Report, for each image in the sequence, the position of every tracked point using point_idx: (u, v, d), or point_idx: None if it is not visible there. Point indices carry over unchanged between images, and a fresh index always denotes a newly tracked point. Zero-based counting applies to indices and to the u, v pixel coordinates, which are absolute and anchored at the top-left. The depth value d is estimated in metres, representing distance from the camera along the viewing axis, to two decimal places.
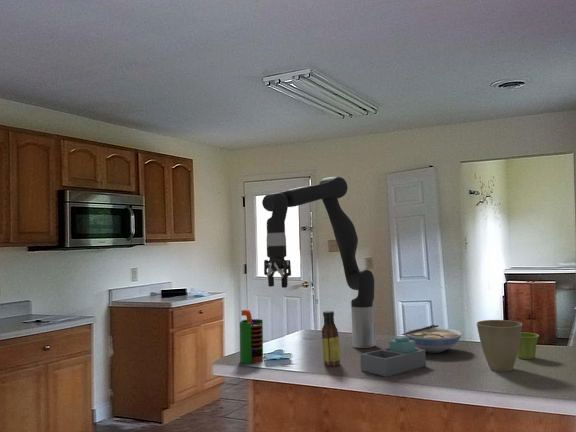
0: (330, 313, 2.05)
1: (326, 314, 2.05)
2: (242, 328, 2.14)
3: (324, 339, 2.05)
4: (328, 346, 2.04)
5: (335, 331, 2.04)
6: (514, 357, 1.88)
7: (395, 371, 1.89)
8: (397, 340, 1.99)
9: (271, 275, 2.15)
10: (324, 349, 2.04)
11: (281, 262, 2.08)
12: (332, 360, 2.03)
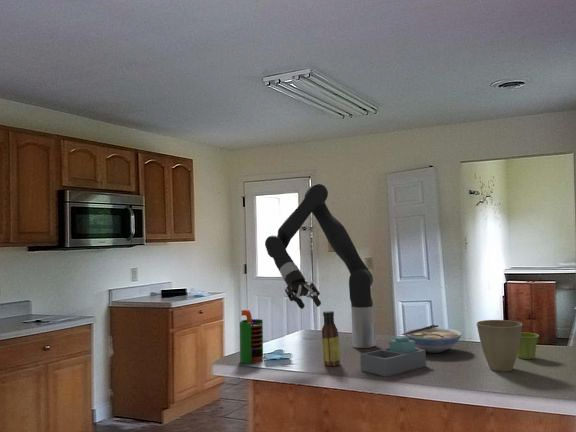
0: (330, 313, 2.05)
1: (326, 314, 2.05)
2: (242, 328, 2.14)
3: (324, 339, 2.05)
4: (328, 346, 2.04)
5: (335, 331, 2.04)
6: (514, 357, 1.88)
7: (395, 371, 1.89)
8: (397, 340, 1.99)
9: None
10: (324, 349, 2.04)
11: (308, 285, 2.23)
12: (332, 360, 2.03)
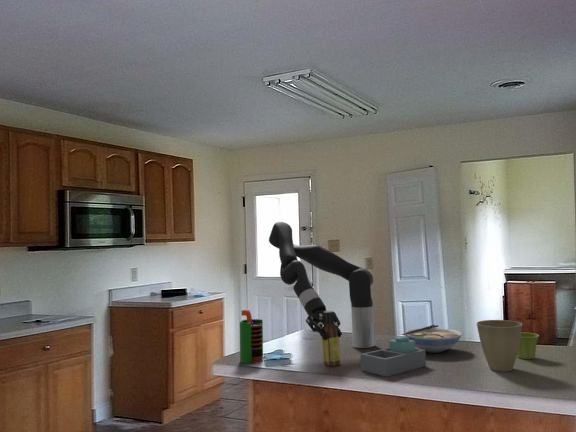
0: (330, 313, 2.05)
1: (326, 314, 2.05)
2: (242, 328, 2.14)
3: None
4: (328, 346, 2.04)
5: (335, 331, 2.04)
6: (514, 357, 1.88)
7: (395, 371, 1.89)
8: (397, 340, 1.99)
9: None
10: (324, 349, 2.04)
11: None
12: (332, 360, 2.03)
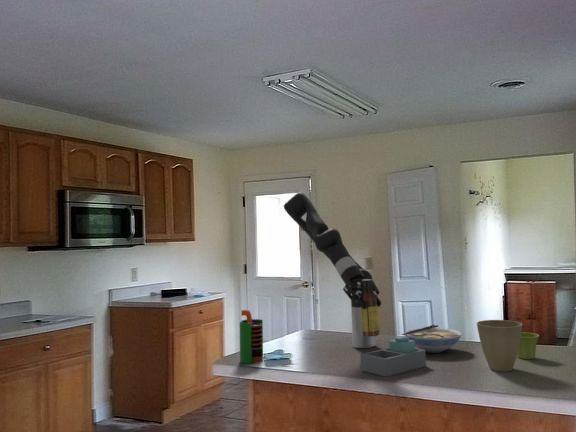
0: (369, 281, 1.95)
1: (365, 282, 1.95)
2: (242, 328, 2.14)
3: None
4: (367, 316, 1.94)
5: (374, 299, 1.95)
6: (514, 357, 1.88)
7: (395, 371, 1.89)
8: (397, 340, 1.99)
9: None
10: (363, 319, 1.95)
11: None
12: (371, 330, 1.94)
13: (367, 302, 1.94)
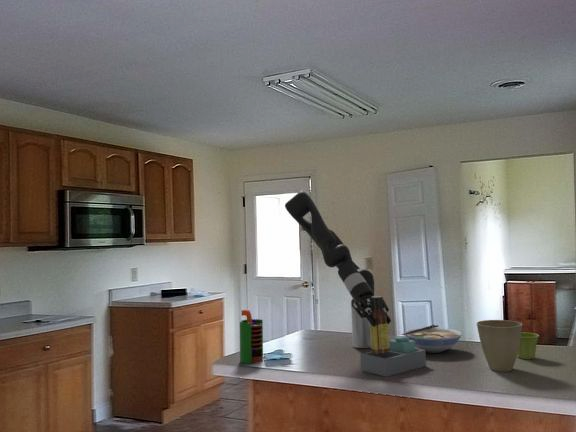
0: (379, 298, 1.93)
1: (375, 299, 1.93)
2: (242, 328, 2.14)
3: None
4: (377, 333, 1.92)
5: (384, 317, 1.93)
6: (514, 357, 1.88)
7: (395, 371, 1.89)
8: (397, 340, 1.99)
9: None
10: (373, 336, 1.93)
11: None
12: (381, 348, 1.91)
13: (377, 319, 1.92)
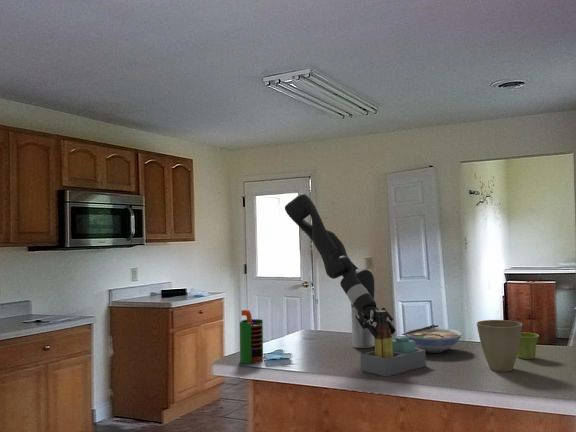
0: (383, 312, 1.94)
1: (379, 313, 1.94)
2: (242, 328, 2.14)
3: (377, 340, 1.94)
4: (382, 347, 1.92)
5: (388, 331, 1.93)
6: (514, 357, 1.88)
7: (395, 371, 1.89)
8: (397, 340, 1.99)
9: None
10: (377, 351, 1.93)
11: None
12: None
13: (381, 334, 1.93)
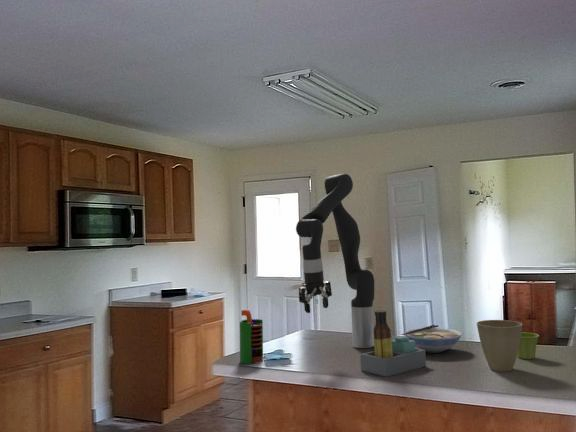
0: (383, 313, 1.94)
1: (378, 313, 1.94)
2: (242, 328, 2.14)
3: (377, 340, 1.93)
4: (381, 348, 1.92)
5: (388, 331, 1.93)
6: (514, 357, 1.88)
7: (395, 371, 1.89)
8: (397, 340, 1.99)
9: None
10: (377, 351, 1.93)
11: (324, 284, 2.17)
12: None
13: (381, 334, 1.93)
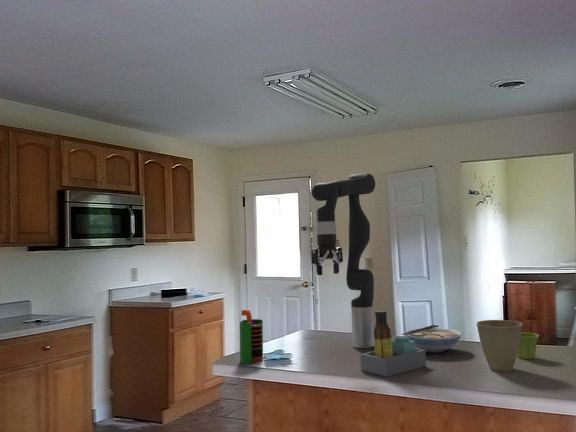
0: (383, 313, 1.94)
1: (378, 313, 1.94)
2: (242, 328, 2.14)
3: (377, 340, 1.93)
4: (381, 348, 1.92)
5: (388, 331, 1.93)
6: (514, 357, 1.88)
7: (395, 371, 1.89)
8: (397, 340, 1.99)
9: None
10: (377, 351, 1.93)
11: (336, 249, 2.19)
12: None
13: (381, 334, 1.93)
